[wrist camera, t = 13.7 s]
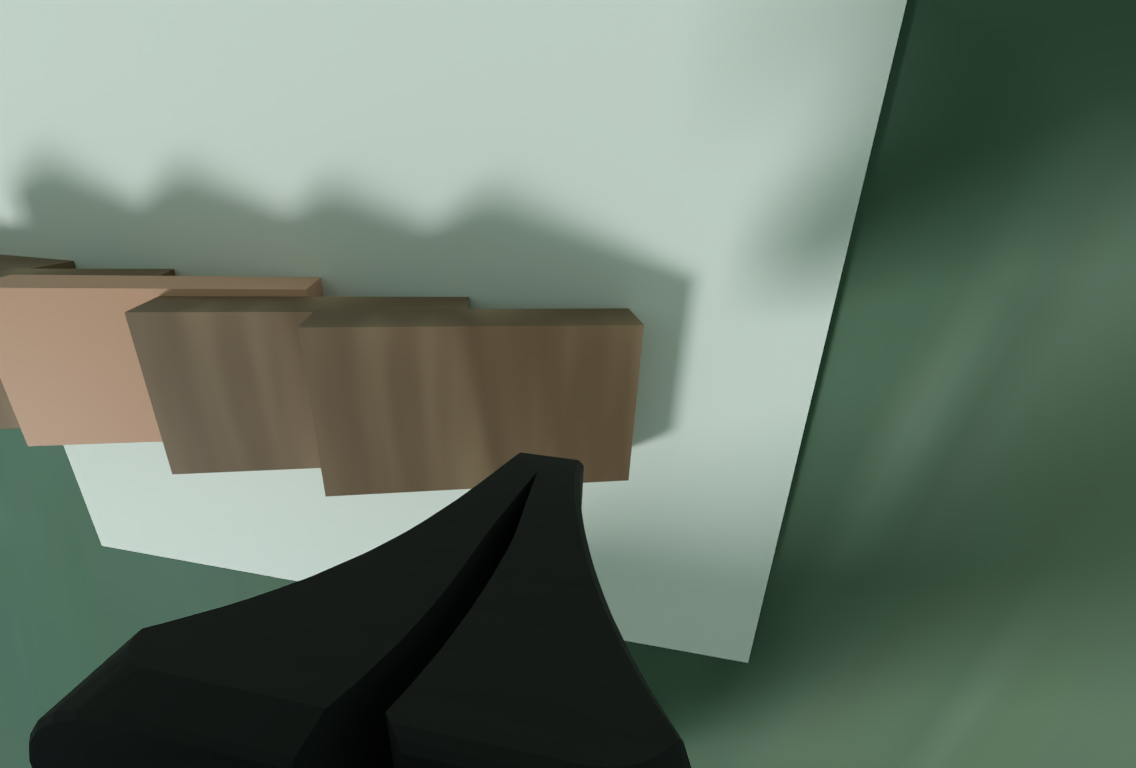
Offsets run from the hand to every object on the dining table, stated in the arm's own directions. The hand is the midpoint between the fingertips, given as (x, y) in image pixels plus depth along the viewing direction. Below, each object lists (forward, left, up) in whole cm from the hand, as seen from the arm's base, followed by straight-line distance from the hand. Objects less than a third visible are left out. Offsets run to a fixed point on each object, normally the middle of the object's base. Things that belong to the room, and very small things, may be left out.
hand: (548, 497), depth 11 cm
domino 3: (-1, 0, -5) cm, 6 cm away
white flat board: (+7, +2, -6) cm, 10 cm away
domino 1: (+8, +2, -5) cm, 10 cm away
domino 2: (+3, +1, -5) cm, 6 cm away
